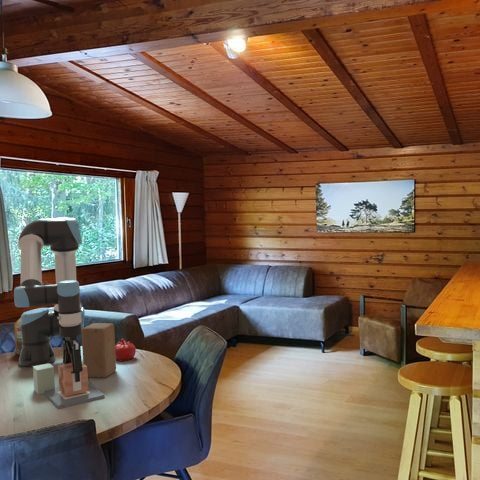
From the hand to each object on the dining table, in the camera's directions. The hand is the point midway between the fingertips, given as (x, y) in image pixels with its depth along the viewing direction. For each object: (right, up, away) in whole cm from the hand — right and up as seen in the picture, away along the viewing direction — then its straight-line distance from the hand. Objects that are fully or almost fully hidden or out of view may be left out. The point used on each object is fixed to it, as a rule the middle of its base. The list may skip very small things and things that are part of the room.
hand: (73, 386), depth 185 cm
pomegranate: (+8, -1, +45) cm, 45 cm away
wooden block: (+3, -2, +24) cm, 24 cm away
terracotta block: (0, -1, 0) cm, 1 cm away
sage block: (-13, -3, +7) cm, 15 cm away
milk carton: (-39, -1, +61) cm, 72 cm away
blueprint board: (0, -3, 0) cm, 3 cm away
